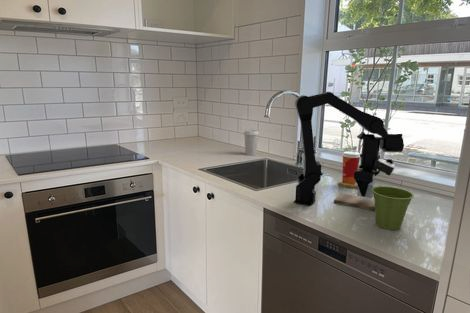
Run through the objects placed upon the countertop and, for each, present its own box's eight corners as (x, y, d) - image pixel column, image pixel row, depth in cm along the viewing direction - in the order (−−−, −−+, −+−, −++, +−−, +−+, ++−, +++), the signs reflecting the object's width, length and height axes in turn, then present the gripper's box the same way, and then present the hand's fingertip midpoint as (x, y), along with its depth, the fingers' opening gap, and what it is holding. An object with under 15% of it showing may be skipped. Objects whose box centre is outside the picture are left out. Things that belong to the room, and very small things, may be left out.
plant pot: (396, 237, 97) (401, 201, 94) (360, 223, 106) (364, 190, 104) (416, 227, 104) (421, 193, 101) (381, 215, 113) (384, 183, 111)
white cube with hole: (357, 195, 122) (358, 183, 121) (360, 192, 126) (361, 180, 124) (371, 198, 119) (373, 185, 118) (374, 194, 123) (375, 182, 122)
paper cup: (343, 179, 154) (346, 150, 151) (360, 183, 150) (363, 152, 146) (337, 183, 148) (339, 153, 145) (354, 187, 144) (357, 155, 141)
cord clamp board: (333, 202, 125) (335, 183, 123) (340, 196, 132) (341, 177, 130) (385, 212, 115) (388, 192, 114) (389, 205, 123) (391, 185, 121)
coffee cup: (258, 156, 203) (259, 131, 200) (243, 155, 203) (243, 131, 200) (258, 152, 212) (258, 129, 209) (243, 152, 212) (243, 129, 209)
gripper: (391, 159, 107) (385, 205, 110) (398, 149, 122) (393, 190, 126) (355, 155, 113) (351, 198, 116) (366, 146, 128) (362, 185, 131)
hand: (366, 193), depth 122 cm, fingers open, 9 cm apart
